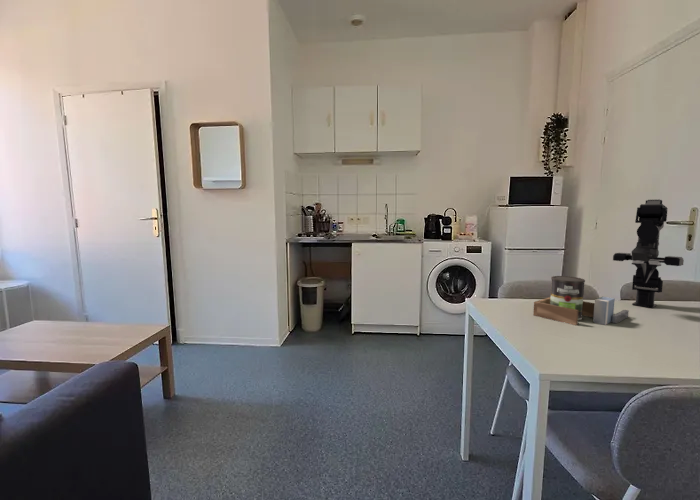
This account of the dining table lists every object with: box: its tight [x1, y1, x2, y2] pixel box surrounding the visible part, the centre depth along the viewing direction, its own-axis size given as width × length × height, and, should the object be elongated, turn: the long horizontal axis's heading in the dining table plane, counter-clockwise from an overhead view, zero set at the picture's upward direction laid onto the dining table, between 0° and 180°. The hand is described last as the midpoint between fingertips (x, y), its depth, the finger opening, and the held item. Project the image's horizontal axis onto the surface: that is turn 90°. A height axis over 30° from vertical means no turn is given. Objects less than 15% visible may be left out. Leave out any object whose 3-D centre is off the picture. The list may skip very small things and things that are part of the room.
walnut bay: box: [532, 296, 595, 326], centre depth 129 cm, size 15×14×5 cm
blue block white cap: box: [592, 296, 615, 326], centre depth 122 cm, size 7×4×8 cm, turn 126°
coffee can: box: [550, 275, 586, 321], centre depth 128 cm, size 10×10×14 cm
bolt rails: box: [592, 309, 630, 324], centre depth 126 cm, size 12×7×2 cm, turn 126°
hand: (644, 282), depth 128 cm, fingers closed
